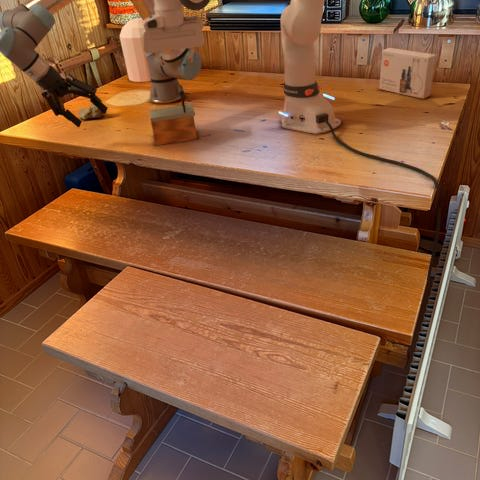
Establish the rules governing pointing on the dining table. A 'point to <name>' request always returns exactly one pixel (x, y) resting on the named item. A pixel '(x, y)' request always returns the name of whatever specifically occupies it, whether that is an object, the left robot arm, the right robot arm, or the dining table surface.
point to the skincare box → (407, 72)
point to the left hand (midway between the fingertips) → (92, 118)
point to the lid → (173, 110)
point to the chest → (174, 130)
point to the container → (134, 51)
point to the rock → (90, 113)
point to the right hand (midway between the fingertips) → (176, 63)
